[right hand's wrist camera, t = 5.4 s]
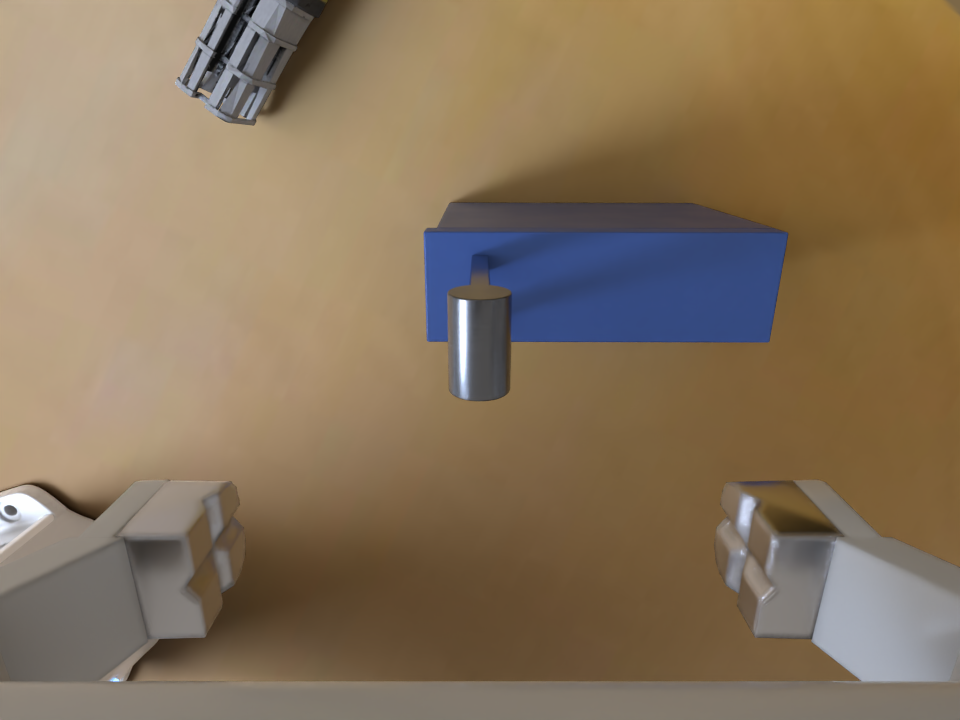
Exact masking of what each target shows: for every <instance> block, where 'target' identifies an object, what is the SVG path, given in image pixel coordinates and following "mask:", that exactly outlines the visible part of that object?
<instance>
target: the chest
mask: <svg viewBox="0 0 960 720" xmlns="http://www.w3.org/2000/svg"><path fill="white" fill-rule="evenodd" d="M437 228H652V229H775V228H772V227H769V226H765V225H762V224H759V223H756V222H752V221H749V220H746V219H742V218H739V217H736V216H733V215H729V214H726V213H723V212H720V211H716V210H713V209H710V208H707V207H703V206H700V205H696V204H693V203H449V205H448V207H447V209H446V211H445V213H444V215H443V217H442V219H441V221H440V223H439V225H438V227H437Z"/></svg>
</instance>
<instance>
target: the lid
mask: <svg viewBox="0 0 960 720" xmlns="http://www.w3.org/2000/svg"><path fill="white" fill-rule="evenodd" d="M787 238H788V233H787V232H784V231H781V230H778V229H652V228H426V230H425V232H424V259H425V292H426V326H427V341H429V342H448V368H449V391H450V393H451V394H452V395H454V396H456V397H458V398H460V399H464V400H470V401H489V400H495V399H499V398H501V397H504V396H505V395H507V394H508V393H509V391H510V369H511V342H769V341H770V335H771V329H772V324H773V318H774V312H775V307H776V301H777V295H778V290H779V284H780V278H781V273H782V267H783V261H784V255H785V250H786V244H787Z"/></svg>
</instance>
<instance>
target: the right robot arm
mask: <svg viewBox="0 0 960 720" xmlns="http://www.w3.org/2000/svg"><path fill="white" fill-rule="evenodd" d="M239 505H240V502H239V497H238V492H237V487H236V486H235V485H234V484H233V483H232V482H231V481H193V480H172V481H171V480H141V481H136V482H134V483H133V484H132V485H131V486H130V487H129V488H128V489H127V490H126V491H125V492H124V493H123V494H122V495H121V496H120V497H119V498H118V499H117V500H116V501H115V502H114V503H113V504H112V505H111V506H110V507H109V508H108V509H107V510H106V511H104V512H103V513H102V514H101V515H100V516H99V517H98V518H97V519H96V520H92V519H90V518H87V517H84V516H82V515H79V514H77V513H75V512H73V511H71V510H69V509H68V508H67V507H65V506H64V505H63V504H62V503H61V502H59V501H58V500H57V499H56V498H54V497H53V496H52V495H50V494H49V493H47V492H46V491H44V490H43V489H41V488H39V487H37V486H34V485H22V486H18V487H15V488H12V489H9V490H6V491H2V492H0V720H960V567H958V566H956V565H954V564H951V563H949V562H947V561H945V560H942V559H940V558H938V557H935V556H933V555H931V554H929V553H926V552H924V551H922V550H920V549H917V548H915V547H913V546H911V545H908V544H906V543H904V542H902V541H899V540H897V539H895V538H893V537H881V536H880V535H879V534H878V533H877V532H876V531H875V530H874V529H873V528H872V527H871V526H870V525H869V524H868V523H867V522H866V521H865V520H864V519H863V518H862V517H861V516H860V515H859V514H858V513H857V512H856V511H855V510H854V509H853V508H852V507H851V506H850V505H848V504H847V503H846V502H845V501H844V500H843V499H842V498H841V497H840V496H839V495H838V494H837V493H836V492H835V491H834V490H833V489H832V488H831V487H830V486H829V485H828V484H827V483H826V482H823V481H821V480H818V479H815V480H790V481H750V482H726V484H725V486H724V489H723V491H722V496H721V501H720V505H721V507H722V508H723V510H724V511H725V513H726V515H727V517H726V518H725V519H724V520H723V521H722V522H721V523H720V524H719V525H718V526H717V527H716V534H715V542H714V548H715V558H716V564H717V567H718V570H719V573H720V575H721V577H722V579H723V581H724V583H725V585H726V586H728V587H729V588H731V589H732V590H734V591H735V592H737V593H738V594H739V595H738V601H737V607H738V608H739V610H740V612H741V614H742V616H743V617H744V619H745V621H746V623H747V624H748V626H749V628H750V630H751V632H752V633H753V635H754V637H755V638H789V639H812V641H811V642H813V643H814V644H815V645H816V646H818V647H819V648H820V649H821V650H823V651H824V652H825V653H827V654H828V655H829V656H830V657H832V658H833V659H834V660H835V661H837V662H838V663H839V664H841V665H842V666H843V667H844V668H846V669H847V670H848V671H850V672H851V673H852V674H853V675H855V676H856V677H857V678H858V679H860V680H861V681H126V680H127V678H128V676H129V674H130V672H131V669H132V666H133V665H134V664H135V663H136V662H137V661H138V660H139V659H140V658H141V657H142V656H143V655H144V654H145V653H146V652H147V651H149V650H150V649H151V648H152V647H153V646H154V645H155V644H156V643H157V641H158V640H159V639H170V638H205V637H206V635H207V633H208V632H209V630H210V628H211V626H212V625H213V623H214V621H215V619H216V617H217V616H218V614H219V612H220V610H221V608H222V607H223V601H222V595H221V594H222V593H223V592H225V591H226V590H228V589H229V588H231V587H232V586H234V585H235V583H236V581H237V579H238V577H239V575H240V573H241V570H242V566H243V562H244V558H245V542H246V540H245V533H244V527H243V526H242V525H241V524H240V523H239V522H238V521H237V520H236V519H235V518H234V517H233V515H234V513H235V511H236V510H237V508H238V507H239ZM13 506H14V507H15V508H14V507H13Z"/></svg>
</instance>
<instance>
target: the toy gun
mask: <svg viewBox="0 0 960 720" xmlns="http://www.w3.org/2000/svg"><path fill="white" fill-rule="evenodd" d="M327 1H328V0H218V1H217V3H216V5H215V7H214V9H213V11H212V13H211V15H210V17H209V19H208V21H207V23H206V25H205V27H204V29H203V31H202V33H201V35H200V37H198V38H197V40H196V41H195V42H196V47H195V49H194V51H193V53H192V54H191V56H190V58H189V60H188V62H187V64H186V66H185V68H184V70H183V72H182V74H181V76H180V77H178V78H177V80H176V82H175V84H176V85H177V86H178V87H179V88H180V89H181V90H182V91H184V92H185V93H186V94H187V95H189V96H190V97H194V98H199V99H201V100H202V101H203V102H204V103H206V105H205V106H204V107H205V108H206V109H207V110H209V111H210V112H211V113H213V114H214V115H215V116H217V117H219V118H220V119H222V120H223V121H225V122H228V123H236V124H245V125H254V124H255V123H256V117H257V116H258V114H259V112H260V110H261V108H262V107H263V105H264V103H265V101H266V100H267V98H268V96H269V94H270V93H271V91H272V89H273V90H275V87H276V84H275V83H276V82H277V80H278V78H279V76H280V74H281V73H282V71H283V69H284V67H285V65H286V63H287V62H288V60H289V58H290V56H291V54H292V53H293V51H296V49H297V48H298V47H297V46H296V45H297V44H298V42H299V40H300V39H301V37H302V35H303V34H304V32H305V30H306V29H307V27H308V26H309V24H310V22H311V21H312V20H313V18H314V17H317V18H319V16H320V14H321V12H322V10H323V8H324V6H325V4H326V2H327ZM206 72H207V73H206ZM192 73H193V74H192ZM205 74H206V75H205ZM191 75H192V76H191ZM190 76H191V78H190ZM204 76H205V77H204ZM189 78H190V79H189ZM203 78H204V79H203ZM202 80H203V81H202ZM198 88H202V89H204V90H206V91H208V92H211V93H212V94H211V96H210V98H209V99H208V98H207V97H206V96H204V95H203V94H202V93H200V92H197V90H198ZM222 102H223V105H222V106H221V104H222ZM220 106H221V108H220V109H219V107H220ZM218 109H219V111H218ZM239 114H241V115H242V116H243V117H245V118H246V119H240V118H237V117H238V116H239Z"/></svg>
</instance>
